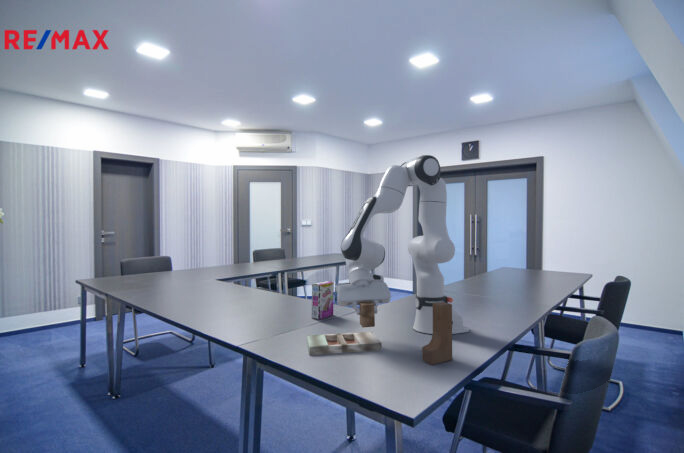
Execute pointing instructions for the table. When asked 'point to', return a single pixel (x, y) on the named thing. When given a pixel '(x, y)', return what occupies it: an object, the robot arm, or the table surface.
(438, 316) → the wooden block
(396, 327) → the table surface
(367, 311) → the walnut block
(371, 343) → the track
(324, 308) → the candy bar box
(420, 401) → the table surface
